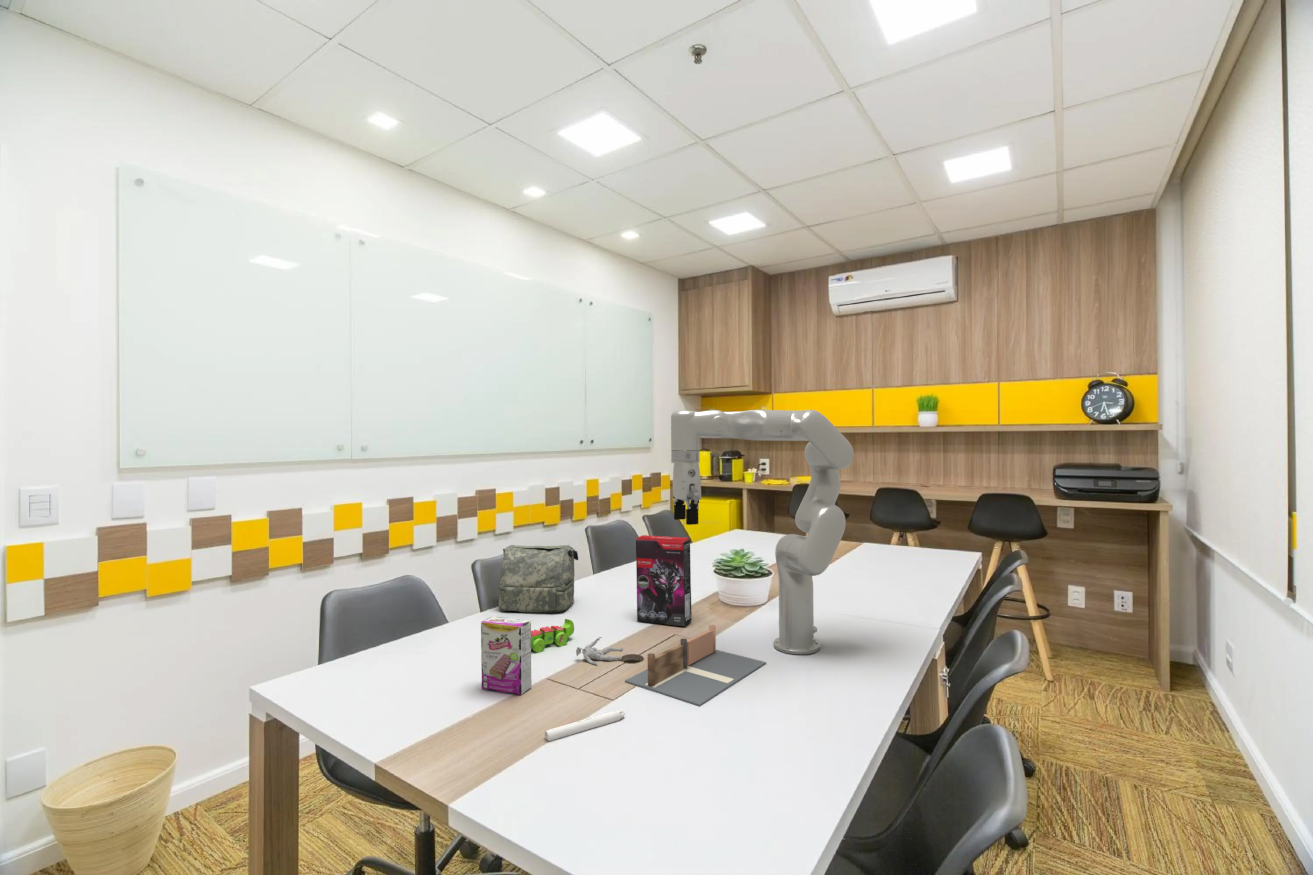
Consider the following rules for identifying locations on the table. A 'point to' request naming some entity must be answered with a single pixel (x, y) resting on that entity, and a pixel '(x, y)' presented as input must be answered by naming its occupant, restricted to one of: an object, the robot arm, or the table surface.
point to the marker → (583, 725)
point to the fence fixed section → (667, 663)
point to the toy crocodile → (551, 635)
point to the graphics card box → (663, 580)
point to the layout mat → (702, 677)
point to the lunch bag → (537, 578)
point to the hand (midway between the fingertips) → (685, 521)
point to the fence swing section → (701, 645)
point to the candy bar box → (506, 655)
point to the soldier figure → (597, 653)
